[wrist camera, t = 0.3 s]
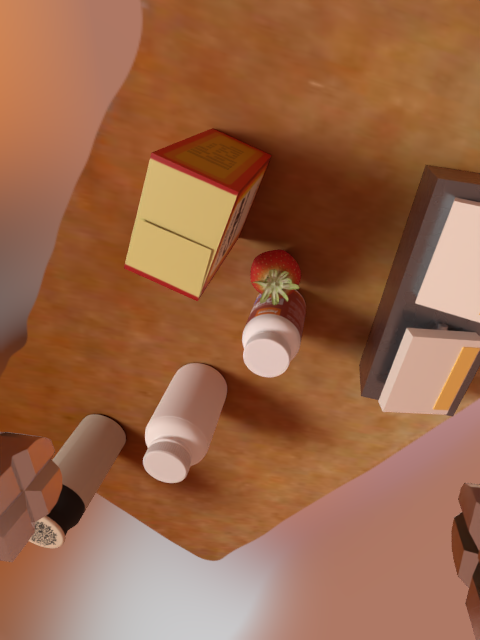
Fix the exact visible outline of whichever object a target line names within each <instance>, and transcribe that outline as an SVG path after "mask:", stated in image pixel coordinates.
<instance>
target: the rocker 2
mask: <svg viewBox="0 0 480 640" xmlns="http://www.w3.org/2000/svg"><path fill="white" fill-rule="evenodd" d="M479 351H480V336H479V335H478V334H477V333H476V332H463V331H448V330H433V329H418V328H406V331H405V334H404V336H403V339H402V341H401V344H400V346H399V349H398V352H397V354H396V357H395V359H394V362H393V365H392V367H391V370H390V372H389V375H388V378H387V380H386V383H385V385H384V388H383V390H382V393H381V396H380V398H379V401H378V402H379V404H380V406H381V408H382V411H383V412H402V413H424V414H445V415H446V414H447V413H448V411H449V409H450V407H451V405H452V403H453V401H454V399H455V397H456V395H457V393H458V391H459V389H460V387H461V385H462V384H463V382H464V380H465V378H466V376H467V374H468V372H469V370H470V368H471V366H472V364H473V362H474V360H475V358H476V356H477V355H478V353H479Z"/></svg>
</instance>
